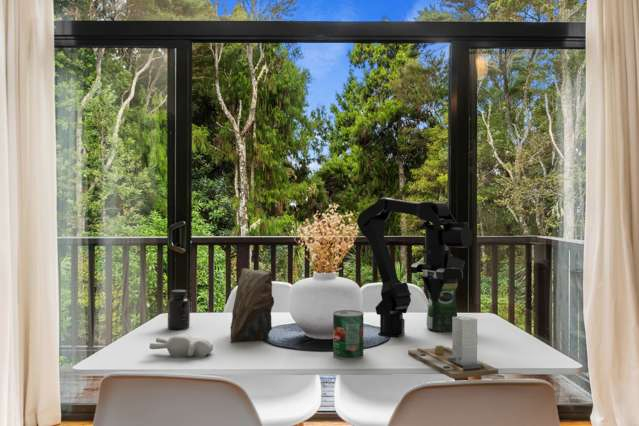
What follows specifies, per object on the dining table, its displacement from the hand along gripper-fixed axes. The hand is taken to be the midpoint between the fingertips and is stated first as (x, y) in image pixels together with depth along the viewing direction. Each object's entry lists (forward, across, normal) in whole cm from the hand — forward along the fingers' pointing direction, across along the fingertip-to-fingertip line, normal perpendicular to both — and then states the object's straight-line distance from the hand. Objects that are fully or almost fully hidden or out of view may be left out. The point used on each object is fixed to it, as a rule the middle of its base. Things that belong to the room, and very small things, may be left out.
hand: (435, 301), depth 144 cm
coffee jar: (+12, +16, -12) cm, 24 cm away
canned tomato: (+12, -4, +28) cm, 30 cm away
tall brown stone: (+12, +23, +50) cm, 56 cm away
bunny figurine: (+12, +9, +68) cm, 70 cm away
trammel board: (+12, -18, +6) cm, 22 cm away
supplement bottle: (+12, +42, +68) cm, 81 cm away
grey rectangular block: (+11, -24, +7) cm, 27 cm away
